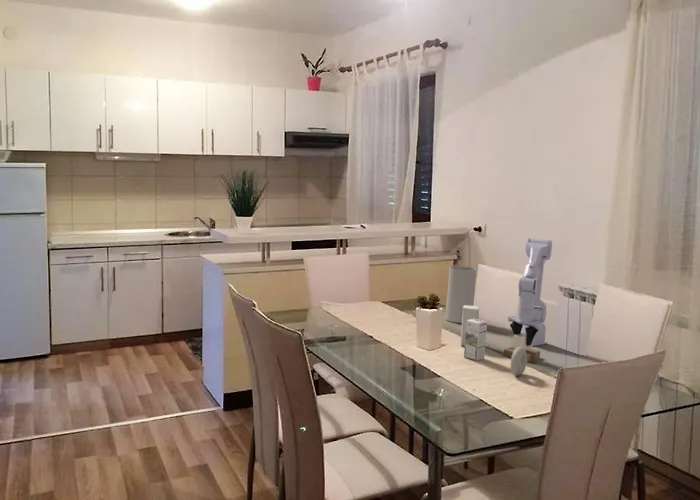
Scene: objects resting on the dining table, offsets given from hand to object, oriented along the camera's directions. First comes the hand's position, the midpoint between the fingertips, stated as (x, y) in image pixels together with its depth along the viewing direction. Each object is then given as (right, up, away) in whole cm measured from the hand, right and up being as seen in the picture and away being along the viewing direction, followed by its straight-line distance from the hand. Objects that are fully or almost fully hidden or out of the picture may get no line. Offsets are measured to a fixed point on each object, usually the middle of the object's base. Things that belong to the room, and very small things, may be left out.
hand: (522, 343), depth 253 cm
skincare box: (-18, -3, +14) cm, 23 cm away
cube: (0, -2, 0) cm, 2 cm away
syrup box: (-20, -5, -5) cm, 21 cm away
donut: (-8, -8, -24) cm, 26 cm away
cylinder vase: (-15, +2, +58) cm, 60 cm away
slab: (0, -6, +1) cm, 6 cm away
